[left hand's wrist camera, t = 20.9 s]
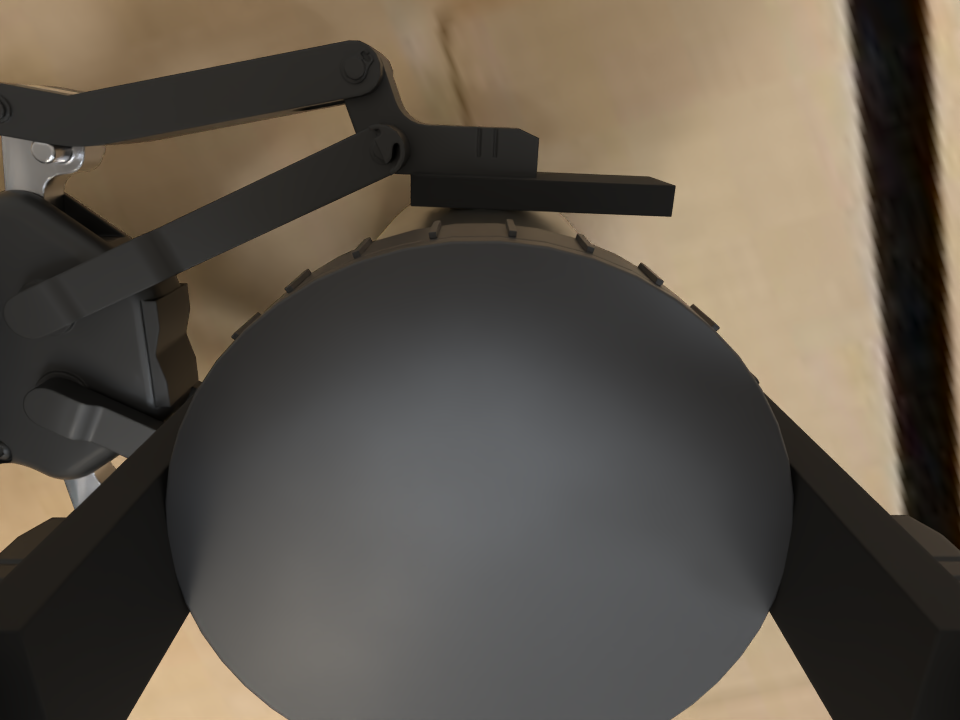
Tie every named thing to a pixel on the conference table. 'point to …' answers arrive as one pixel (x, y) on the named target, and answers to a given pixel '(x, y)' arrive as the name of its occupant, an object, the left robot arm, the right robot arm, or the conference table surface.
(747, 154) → the conference table surface
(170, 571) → the left robot arm
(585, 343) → the lid
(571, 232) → the jar
